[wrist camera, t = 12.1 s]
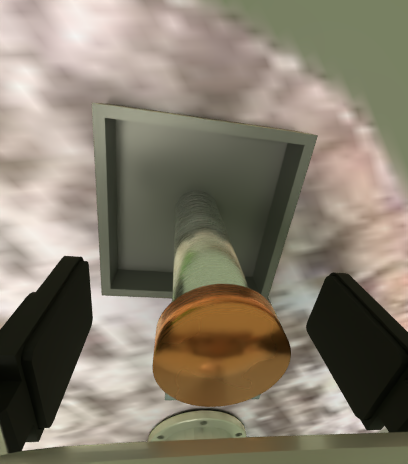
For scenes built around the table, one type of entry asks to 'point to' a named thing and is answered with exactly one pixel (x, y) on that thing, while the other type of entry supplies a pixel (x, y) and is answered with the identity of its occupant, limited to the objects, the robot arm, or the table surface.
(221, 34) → the table surface
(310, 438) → the robot arm
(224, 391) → the pin
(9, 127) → the table surface
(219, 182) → the parts tray
